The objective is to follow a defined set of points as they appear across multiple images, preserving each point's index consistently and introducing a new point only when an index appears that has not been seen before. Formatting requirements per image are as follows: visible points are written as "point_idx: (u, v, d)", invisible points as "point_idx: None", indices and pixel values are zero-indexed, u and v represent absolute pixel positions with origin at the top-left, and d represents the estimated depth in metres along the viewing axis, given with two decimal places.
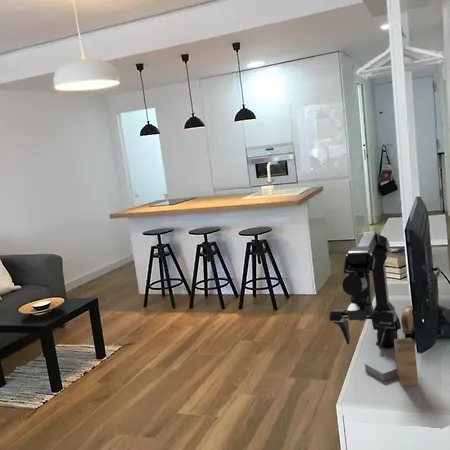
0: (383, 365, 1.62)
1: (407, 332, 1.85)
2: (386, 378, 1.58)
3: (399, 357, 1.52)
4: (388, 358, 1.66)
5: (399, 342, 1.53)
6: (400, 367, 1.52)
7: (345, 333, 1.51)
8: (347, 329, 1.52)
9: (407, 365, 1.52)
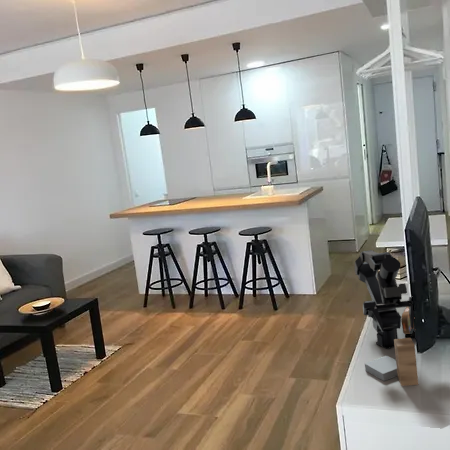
0: (383, 365, 1.62)
1: (407, 332, 1.85)
2: (386, 378, 1.58)
3: (399, 357, 1.52)
4: (388, 358, 1.66)
5: (399, 342, 1.53)
6: (400, 367, 1.52)
7: (379, 320, 1.63)
8: None
9: (407, 365, 1.52)
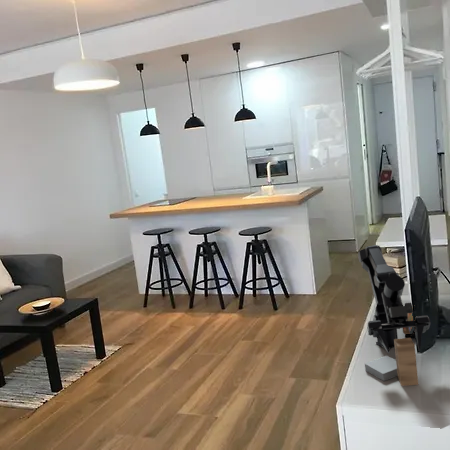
0: (383, 365, 1.62)
1: (407, 332, 1.85)
2: (386, 378, 1.58)
3: (399, 357, 1.52)
4: (388, 358, 1.66)
5: (399, 342, 1.53)
6: (400, 367, 1.52)
7: (385, 341, 1.57)
8: None
9: (407, 365, 1.52)
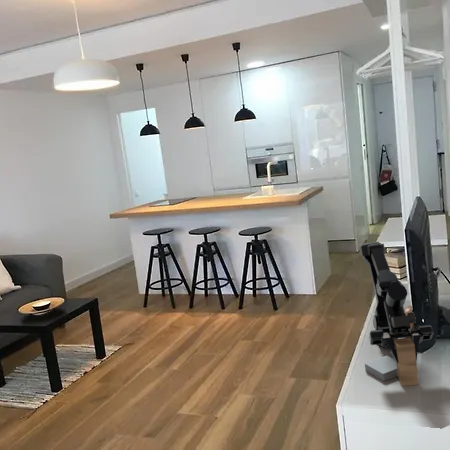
0: (383, 365, 1.62)
1: None
2: (386, 378, 1.58)
3: (399, 357, 1.52)
4: (388, 358, 1.66)
5: (399, 342, 1.53)
6: (400, 367, 1.52)
7: (394, 350, 1.54)
8: None
9: (407, 365, 1.52)
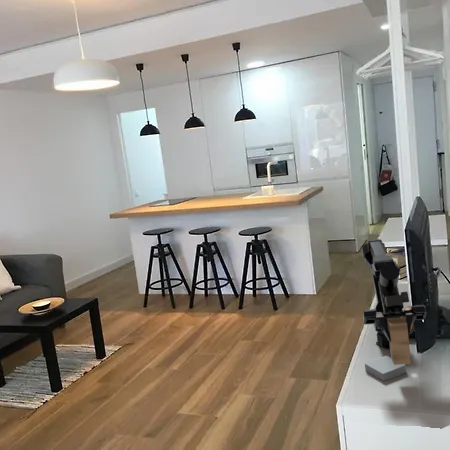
0: (383, 365, 1.62)
1: None
2: (386, 378, 1.58)
3: (392, 336, 1.52)
4: (388, 358, 1.66)
5: (391, 321, 1.54)
6: (392, 346, 1.53)
7: (386, 329, 1.55)
8: None
9: (399, 344, 1.52)
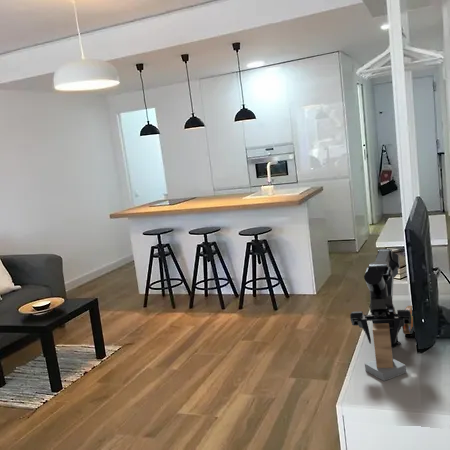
0: None
1: (407, 332, 1.85)
2: (386, 378, 1.58)
3: (374, 340, 1.60)
4: None
5: (376, 326, 1.61)
6: (375, 350, 1.60)
7: (367, 331, 1.62)
8: None
9: (382, 348, 1.59)
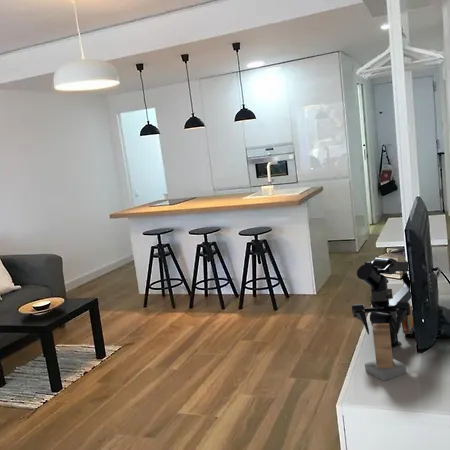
0: None
1: (407, 332, 1.85)
2: (386, 378, 1.58)
3: (374, 340, 1.60)
4: None
5: (376, 326, 1.61)
6: (375, 350, 1.60)
7: (366, 323, 1.69)
8: None
9: (382, 348, 1.59)
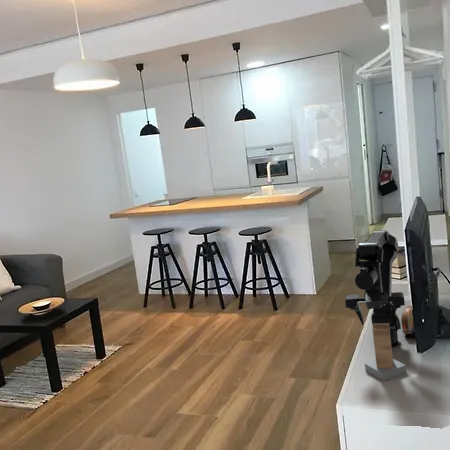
0: None
1: (407, 332, 1.85)
2: (386, 378, 1.58)
3: (374, 340, 1.60)
4: None
5: (376, 326, 1.61)
6: (375, 350, 1.60)
7: (360, 316, 1.69)
8: (361, 312, 1.70)
9: (382, 348, 1.59)
